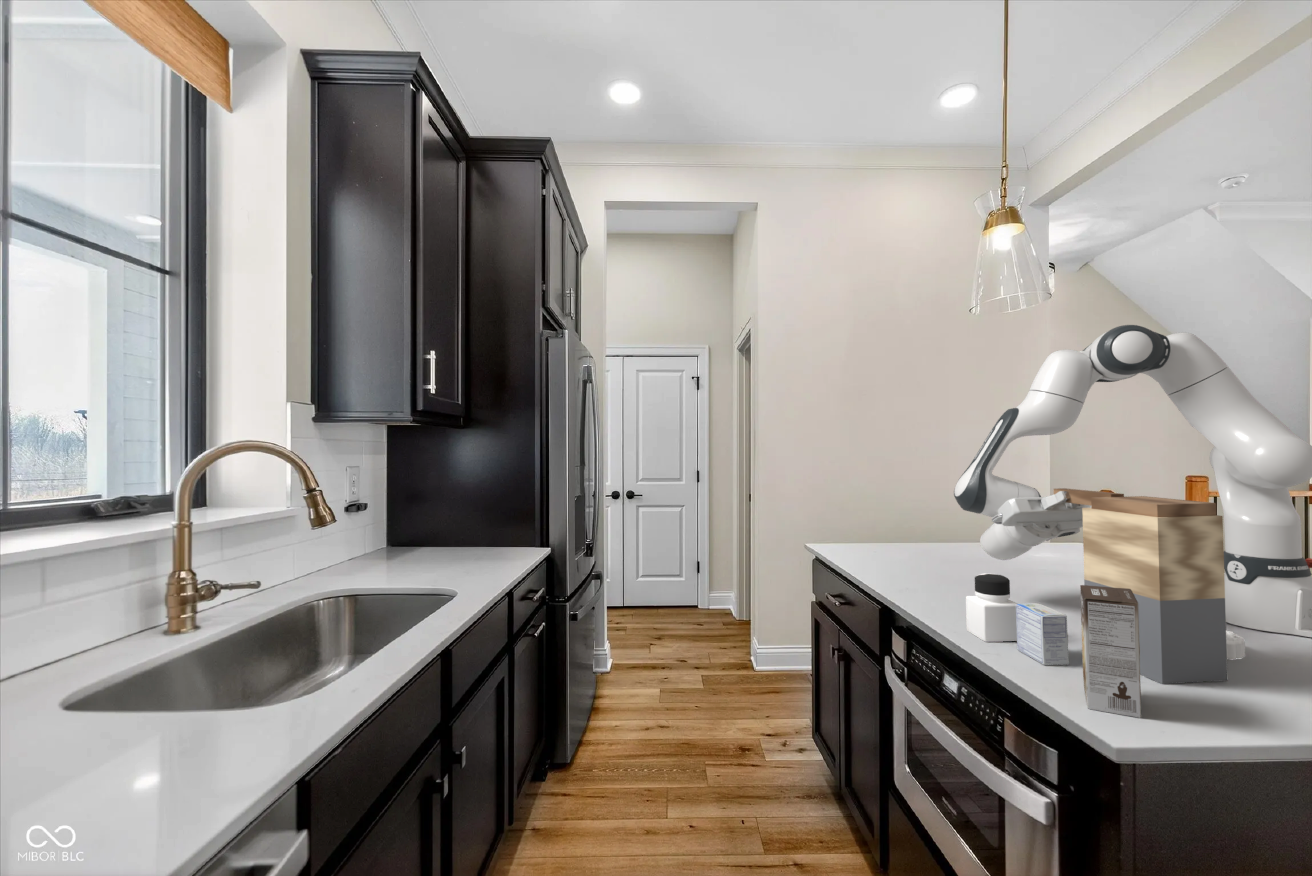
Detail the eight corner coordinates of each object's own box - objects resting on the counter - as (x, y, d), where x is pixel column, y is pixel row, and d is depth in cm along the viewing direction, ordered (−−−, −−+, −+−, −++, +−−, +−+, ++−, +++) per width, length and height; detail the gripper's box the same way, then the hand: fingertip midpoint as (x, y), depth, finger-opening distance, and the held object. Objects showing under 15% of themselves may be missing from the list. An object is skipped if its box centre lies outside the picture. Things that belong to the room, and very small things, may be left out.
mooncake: (1181, 658, 104) (1180, 638, 104) (1142, 637, 116) (1141, 618, 116) (1264, 663, 101) (1263, 642, 101) (1215, 640, 113) (1214, 621, 113)
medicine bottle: (1022, 641, 114) (1020, 579, 114) (984, 642, 114) (983, 579, 114) (1001, 630, 121) (999, 571, 121) (965, 630, 121) (964, 571, 121)
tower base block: (1143, 648, 109) (1140, 577, 109) (1227, 680, 94) (1224, 598, 94) (1086, 650, 108) (1084, 579, 108) (1162, 683, 93) (1159, 600, 93)
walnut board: (1082, 500, 122) (1082, 487, 122) (1216, 515, 95) (1215, 499, 95) (1036, 501, 121) (1036, 489, 121) (1157, 517, 94) (1157, 501, 94)
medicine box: (1069, 665, 101) (1068, 614, 101) (1043, 666, 101) (1041, 615, 102) (1040, 649, 109) (1039, 602, 109) (1016, 650, 109) (1015, 602, 109)
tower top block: (1140, 577, 109) (1138, 506, 109) (1224, 598, 94) (1222, 515, 94) (1084, 579, 108) (1082, 507, 108) (1159, 600, 93) (1157, 517, 93)
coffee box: (1081, 686, 93) (1079, 583, 93) (1134, 695, 89) (1131, 588, 90) (1086, 709, 85) (1083, 596, 85) (1144, 719, 82) (1140, 602, 82)
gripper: (982, 509, 130) (1019, 480, 118) (1071, 507, 131) (1116, 478, 119) (992, 536, 127) (1031, 510, 115) (1083, 533, 128) (1130, 507, 116)
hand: (1075, 494), depth 117 cm, fingers closed on walnut board, 2 cm apart
